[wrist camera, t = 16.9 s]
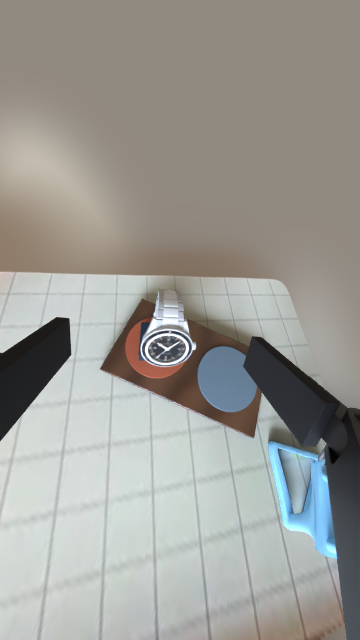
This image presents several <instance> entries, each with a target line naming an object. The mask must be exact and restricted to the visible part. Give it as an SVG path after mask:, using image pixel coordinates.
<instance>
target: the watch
mask: <svg viewBox="0 0 360 640" xmlns="http://www.w3.org/2000/svg"><path fill="white" fill-rule="evenodd" d="M195 349H196V342H192V340H191V338H190V333H189V328H188V323H187V319H186V318H184V313H183V300H182V295H181V293H180V292H179V291H173V290H162V289H159V292H158V296H157V297H156V307H155V312H154V316H153V318H152V320H151V322H150V323H147V322H141V331H140V343H139V360H140V361H147V362H149V363H151V364H153V365H156V366H160V367H170V366H175V365H178V364H180V363H182V362H184V361H185V360H186V359H188V358H189V356H190V354H191V353H192V350H195Z"/></svg>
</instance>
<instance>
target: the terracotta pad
mask: <svg viewBox="0 0 360 640" xmlns="http://www.w3.org/2000/svg"><path fill="white" fill-rule="evenodd" d="M152 318H153V317H150V318H147V319H144V320H142V321H140V322H139V323H137V324H136V325H135V326H134V327H133V328H132V329H131V331H130V332H129V334H128V336H127V339H126V346H125V349H126V355H127V358H128V361H129V362H130V364H131V365H132V367H133V368H134V369H135V370H136V371H137V372H139V373H140V374H142V375H144V376H147V377H151V378H164V377H167V376H170V375H172V374H174V373H175V372H177V371H178V370H179V369H180V368H181V367H182V366H183V364H184V363H185V361H186V360H185V361H184V362H182V363H180V364H178V365H175V366H170V367H160V366H156V365H153V364H151V363H149V362H147V361H140V360H139V343H140V331H141V322H147V323H150V322H151V320H152Z"/></svg>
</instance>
